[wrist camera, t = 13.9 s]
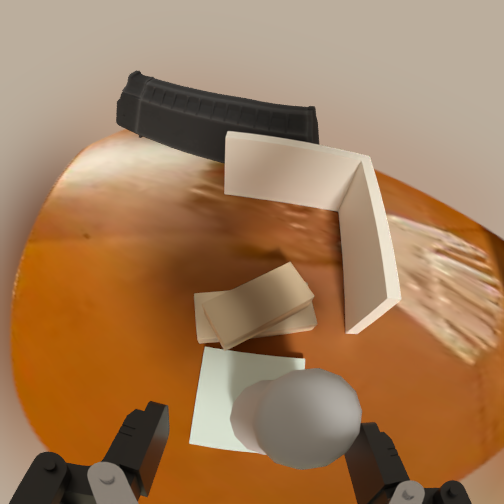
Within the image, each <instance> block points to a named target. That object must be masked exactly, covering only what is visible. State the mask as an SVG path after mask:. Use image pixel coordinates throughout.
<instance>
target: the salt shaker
mask: <svg viewBox="0 0 504 504" xmlns="http://www.w3.org/2000/svg"><path fill="white" fill-rule="evenodd" d="M361 415H362V410H361V407H360V403H359V400H358V397H357V394H356V391H355V390H354V389H353V388H352V387H351V386H350V385H349V384H348V383H347V382H346V381H345V380H344V379H343V378H342V377H341V376H339V375H336V374H334V373H331V372H328V371H325V370H323V369H320V368H314V369H304V370H292V371H290V372H288V373H287V374H285V375H283V376H281V377H279V378H277V379H275V380H261V381H259V382H257V383H255V384H253V385H251V386H248V387H246V388H244V390H243V391H242V392H241V393H240V395H239V396H238V397H237V398H236V400H235V401H234V402H233V406H232V411H231V415H230V422H231V426H232V429H233V432H234V435H235V437H236V438H237V439H238V440H239V441H240V442H241V443H242V444H243V445H244V446H245V447H246V449H249V450H252V451H255V452H258V453H261V454H264V455H268V456H269V457H270V458H271V459H272V460H273V461H274V462H275V463H278V464H281V465H285V466H288V467H292V468H295V469H302V470H303V469H310V468H317V467H323V466H327V465H329V464H330V463H332V462H333V461H335V460H336V459H338V458H339V457H341V456H342V455H344V454H345V453H346V452H347V451H348V450H349V448H350V447H351V445H352V444H353V442H354V440H355V439H356V437H357V436H358V434H359V431H360V423H361Z"/></svg>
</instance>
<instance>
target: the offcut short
mask: <svg viewBox="0 0 504 504" xmlns="http://www.w3.org/2000/svg"><path fill="white" fill-rule="evenodd" d="M313 298H314V295H313V293H312V292H311V290H310V289H309V287H308V286H307V285H306V283H305V282H304V280H303V279H302V278H301V276H300V275H299V273H298V272H297V271H296V269H295V268H294V266H293V265H292V264H291V262H288V263H286V264H284V265H282V266H280V267H278V268H276V269H274V270H272V271H270V272H268V273H266V274H264V275H261V276H259V277H257V278H255V279H253V280H251V281H249V282H247V283H245V284H243V285H240V286H238V287H236V288H234V289H232V290H230V291H228V292H225V293H223V294H221V295H219V296H217V297H215V298H213V299H210V300H208V301H206V302H204V303H202V306H203V310H204V314H205V316H206V318H207V320H208V322H209V324H210V325H211V327H212V329H213V331H214V333H215V335H216V337H217V338H218V340H219V342H220V344H221V346H222V347H223V349H224V351H226V350H228V349H230V348H232V347H234V346H236V345H238V344H240V343H242V342H244V341H246V340H248V339H250V338H252V337H254V336H256V335H257V334H259V333H261V332H263V331H265V330H267V329H269V328H271V327H272V326H274V325H276V324H278V323H280V322H282V321H283V320H285V319H287V318H289V317H291V316H292V315H294V314H296V313H298V312H299V311H301V310H303V309H305V308H306V307H308V306H309V304H310V303H311V301H312V300H313Z"/></svg>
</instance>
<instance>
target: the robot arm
mask: <svg viewBox="0 0 504 504" xmlns="http://www.w3.org/2000/svg"><path fill="white" fill-rule="evenodd" d="M168 435H169V413H168V405H164V404H160V403H156V402H152V401H150V402H149V403H148V405H147V407H146V409H145V411H141V410H138V409H135V410H134V411H133V412H131V413H130V414H129V415H127V417H126V419H125V420H124V422H123V424H122V426H121V428H120V430H119V433H117V435H116V437H115V439H114V441H113V442H112V444H111V446H110V448H109V450H108V452H107V454H106V456H105V457H104V459H103V460H102V461H101V462H98V463H95V464H94V465H92V466H82V465H76V464H71V463H66V462H65V461H64V459H63V458H62V457H61V456H59V455H58V454H56V453H53V452H44V453H40V454H39V455H38V456H37V457H36V458H35V459H34V461H33V463H32V464H31V466H30V468H29V469H28V471H27V473H26V474H25V476H24V478H23V479H22V481H21V483H20V484H19V486H18V488H17V490H16V492H15V494H14V495H13V497H12V499H11V501H10V503H9V504H138V499H139V497H140V495H142V496H145V497H148V495H149V492H150V489H151V486H152V483H153V480H154V477H155V474H156V471H157V468H158V465H159V463H160V460H161V457H162V454H163V451H164V448H165V445H166V443H167V440H168ZM345 459H346V462H347V466H348V469H349V473H350V477H351V481H352V484H353V488H354V492H355V496H356V499H357V503H358V504H471V501H470V499H469V497H468V494H467V493H466V490H465V488H464V486H463V485H462V484H461V483H460V482H458V481H453V480H452V481H448V482H446V483H444V484H443V485H442V486H441V487H440V488H423V487H422V486H421V485H420V484H419V483H417V482H415V481H410V479H409V477H408V475H407V472H406V470H405V468H404V466H403V463H402V461H401V459H400V457H399V456H398V452H397V450H396V449H395V446H394V444H393V442H392V439H391V438H390V437H389V436H388V435H387V434H386V433H385V432H380V431H379V429H378V426H377V424H376V423H375V422H370V423H360V431H359V434H358V436H357V437H356V439H355V440H354V442H353V444H352V445H351V447H350V448H349V450H348V451H347V452H346V453H345Z"/></svg>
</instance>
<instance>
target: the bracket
mask: <svg viewBox="0 0 504 504" xmlns="http://www.w3.org/2000/svg"><path fill="white" fill-rule="evenodd" d="M224 194H227V195H235V196H243V197H250V198H257V199H264V200H271V201H278V202H284V203H291V204H297V205H303V206H309V207H315V208H321V209H326V210H332V211H337V212H338V214H339V223H340V234H341V246H342V259H343V275H344V296H345V333H348V334H358V333H359V332H360V331H362V330H363V329H364V328H366V327H367V326H368V325H370V324H371V323H372V322H374V321H375V320H376V319H378V318H379V317H380V316H382V315H383V314H384V313H385V312H387V311H388V310H389V309H390V308H392V307H393V306H394V305H395V304H397V303H398V302H399V301H400V300H401V293H400V286H399V279H398V273H397V267H396V261H395V255H394V250H393V245H392V240H391V235H390V230H389V226H388V222H387V217H386V213H385V209H384V205H383V201H382V197H381V193H380V190H379V186H378V182H377V179H376V175H375V172H374V169H373V165H372V162H371V159H370V156H366V155H362V154H358V153H354V152H349V151H346V150H341V149H337V148H332V147H327V146H323V145H318V144H313V143H308V142H302V141H297V140H291V139H285V138H279V137H272V136H265V135H258V134H250V133H241V132H232V131H228V132H227V135H226V138H225V185H224Z"/></svg>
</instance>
